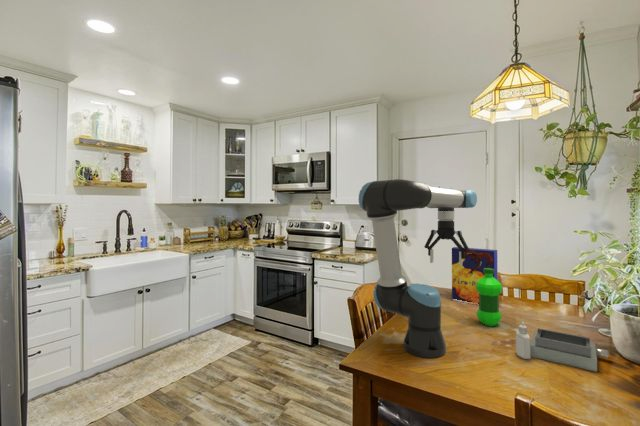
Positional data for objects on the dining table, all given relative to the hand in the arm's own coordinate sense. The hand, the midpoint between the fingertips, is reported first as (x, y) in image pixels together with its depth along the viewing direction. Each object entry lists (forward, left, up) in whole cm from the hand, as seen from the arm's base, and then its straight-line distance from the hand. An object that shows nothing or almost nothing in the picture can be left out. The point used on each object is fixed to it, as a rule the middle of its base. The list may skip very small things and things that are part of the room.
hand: (445, 263), depth 156 cm
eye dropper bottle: (-27, -35, -26) cm, 51 cm away
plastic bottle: (0, -19, -26) cm, 32 cm away
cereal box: (+30, -6, -26) cm, 40 cm away
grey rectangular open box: (-18, -48, -25) cm, 57 cm away
